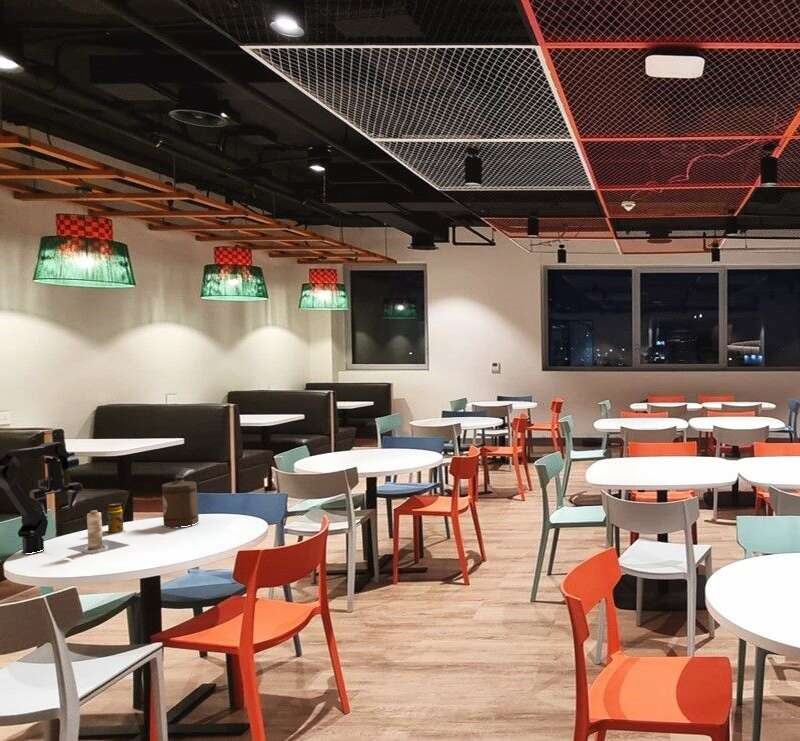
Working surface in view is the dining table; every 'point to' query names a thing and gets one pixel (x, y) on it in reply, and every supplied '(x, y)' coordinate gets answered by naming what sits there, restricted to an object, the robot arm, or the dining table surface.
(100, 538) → the beige wooden pepper mill
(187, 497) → the wooden container
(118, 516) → the condiment
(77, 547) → the baseplate
